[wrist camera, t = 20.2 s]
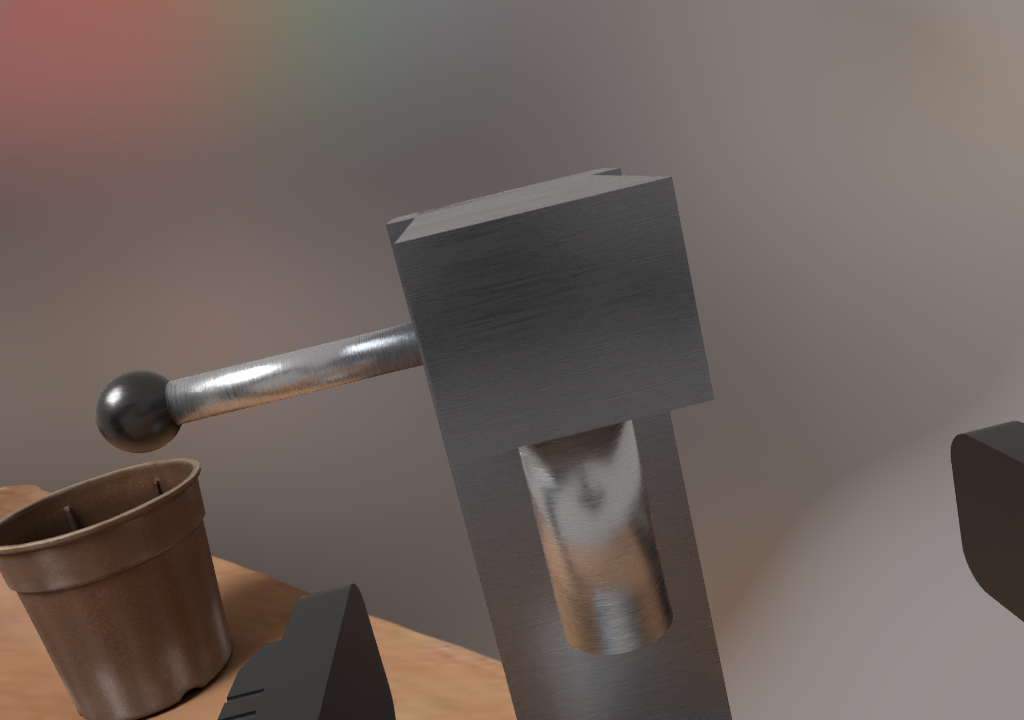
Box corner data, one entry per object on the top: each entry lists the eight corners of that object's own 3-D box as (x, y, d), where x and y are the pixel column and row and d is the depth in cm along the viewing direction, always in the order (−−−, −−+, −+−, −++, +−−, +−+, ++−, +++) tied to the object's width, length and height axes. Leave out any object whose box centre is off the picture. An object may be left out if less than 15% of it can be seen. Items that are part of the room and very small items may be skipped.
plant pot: (83, 659, 78) (19, 494, 75) (264, 603, 81) (210, 440, 77) (23, 774, 63) (-61, 571, 59) (250, 700, 65) (182, 501, 62)
